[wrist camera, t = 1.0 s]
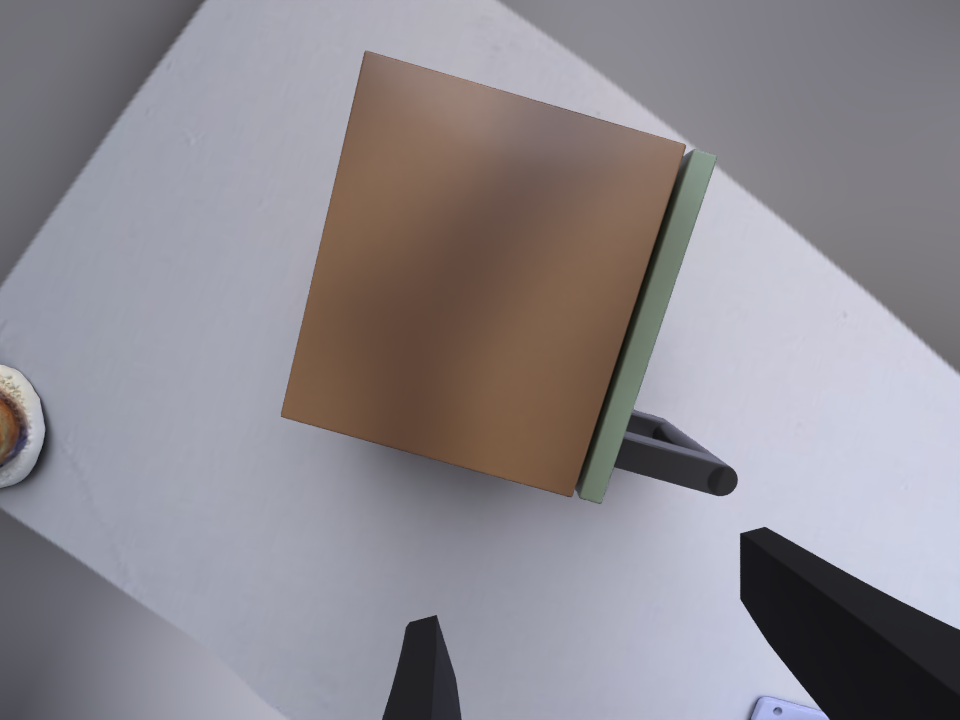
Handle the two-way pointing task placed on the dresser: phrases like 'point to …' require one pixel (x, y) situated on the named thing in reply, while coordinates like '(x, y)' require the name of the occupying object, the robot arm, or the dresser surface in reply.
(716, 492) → the door
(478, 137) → the cupboard
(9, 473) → the dessert
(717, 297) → the dresser surface
